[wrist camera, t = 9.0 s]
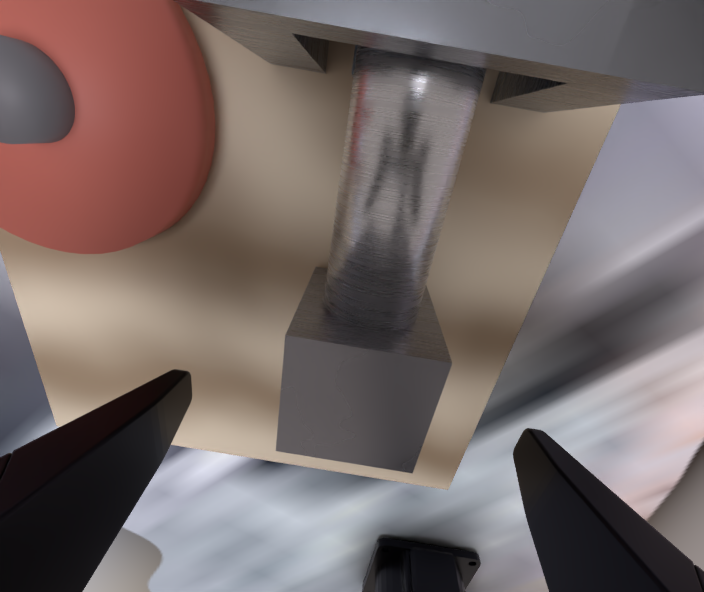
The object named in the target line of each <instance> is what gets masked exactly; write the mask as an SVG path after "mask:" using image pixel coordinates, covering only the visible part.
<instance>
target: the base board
mask: <svg viewBox="0 0 704 592" xmlns="http://www.w3.org/2000/svg"><path fill="white" fill-rule="evenodd" d="M179 6H180V7H181V9H182V11H183V13H184V15H185V17H186V19H187V21H188V23H189V25H190V26H191V28H192V31H193V33H194V35H195V38H196V40H197V43H198V45H199V48H200V50H201V53H202V56H203V59H204V62H205V66H206V69H207V72H208V76H209V80H210V85H211V90H212V96H213V101H214V112H215V146H214V152H213V158H212V164H211V167H210V170H209V174H208V177H207V180H206V183H205V185H204V187H203V189H202V191H201V193H200V195H199V197H198V199H197V200H196V201H195V203H194V204H193V206H192V207H191V209H190V210H189V211H188V212H187V213H186V214H185V215H184V216H183V217H182V218H181V219H180V220H179V221H178V222H177V223H175V224H174V225H173V226H171V227H170V228H169V229H167V230H165V231H163V232H161V233H159V234H157V235H155V236H153V237H151V238H149V239H147V240H145V241H143V242H141V243H139V244H136V245H134V246H132V247H129V248H126V249H123V250H120V251H116V252H110V253H103V254H77V253H68V252H63V251H58V250H54V249H50V248H46V247H43V246H40V245H37V244H34V243H31V242H29V241H26V240H24V239H22V238H20V237H18V236H15V235H13V234H11V233H9V232H7V231H6V230H4V229H2V228H0V251H1V254H2V257H3V261H4V264H5V267H6V270H7V273H8V276H9V279H10V282H11V285H12V288H13V292H14V295H15V298H16V301H17V304H18V307H19V310H20V313H21V316H22V319H23V323H24V326H25V329H26V332H27V335H28V338H29V341H30V344H31V347H32V350H33V354H34V357H35V360H36V363H37V366H38V369H39V372H40V375H41V378H42V382H43V385H44V388H45V391H46V394H47V397H48V400H49V403H50V406H51V409H52V413H53V416H54V419H55V422H56V425H57V426H60V427H61V426H63V425H65V424H67V423H69V422H71V421H73V420H74V419H76V418H78V417H80V416H82V415H84V414H86V413H88V412H90V411H92V410H94V409H96V408H98V407H100V406H102V405H104V404H106V403H108V402H110V401H112V400H114V399H116V398H118V397H120V396H121V395H123V394H125V393H127V392H129V391H131V390H133V389H135V388H137V387H139V386H141V385H143V384H145V383H147V382H149V381H151V380H153V379H155V378H157V377H159V376H161V375H163V374H165V373H166V372H168V371H170V370H173V369H179V370H185V371H189V372H190V374H191V381H192V400H191V403H190V406H189V408H188V410H187V412H186V414H185V416H184V418H183V420H182V422H181V424H180V426H179V429H178V431H177V433H176V435H175V437H174V439H173V441H172V443H171V445H176V446H182V447H188V448H195V449H201V450H207V451H213V452H219V453H225V454H231V455H237V456H244V457H250V458H256V459H262V460H268V461H274V462H280V463H286V464H292V465H299V466H305V467H311V468H317V469H323V470H329V471H335V472H341V473H348V474H354V475H360V476H366V477H372V478H378V479H384V480H390V481H397V482H403V483H409V484H415V485H421V486H427V487H433V488H439V489H446V490H448V489H449V487H450V484H451V482H452V480H453V478H454V475H455V473H456V471H457V469H458V467H459V464H460V462H461V460H462V458H463V455H464V453H465V451H466V449H467V446H468V444H469V442H470V440H471V437H472V435H473V433H474V431H475V429H476V426H477V424H478V422H479V420H480V417H481V415H482V413H483V411H484V408H485V406H486V404H487V402H488V400H489V397H490V395H491V393H492V391H493V388H494V386H495V384H496V382H497V379H498V377H499V375H500V373H501V371H502V368H503V366H504V364H505V362H506V359H507V357H508V355H509V353H510V350H511V348H512V346H513V344H514V342H515V339H516V337H517V335H518V333H519V330H520V328H521V326H522V324H523V321H524V319H525V317H526V315H527V313H528V310H529V308H530V306H531V304H532V301H533V299H534V297H535V295H536V292H537V290H538V288H539V286H540V284H541V281H542V279H543V277H544V275H545V272H546V270H547V268H548V266H549V263H550V261H551V259H552V257H553V255H554V252H555V250H556V248H557V246H558V243H559V241H560V239H561V237H562V234H563V232H564V230H565V228H566V226H567V223H568V221H569V219H570V217H571V214H572V212H573V210H574V208H575V205H576V203H577V201H578V199H579V197H580V194H581V192H582V190H583V188H584V185H585V183H586V181H587V179H588V176H589V174H590V172H591V170H592V168H593V165H594V163H595V161H596V159H597V156H598V154H599V152H600V150H601V147H602V145H603V143H604V141H605V139H606V136H607V134H608V132H609V130H610V127H611V125H612V123H613V121H614V118H615V116H616V114H617V112H618V110H619V107H620V105H621V104H617V105H608V106H599V107H590V108H582V109H573V110H564V111H556V112H547V113H542V112H537V111H531V110H526V109H520V108H514V107H509V106H503V105H498V104H492V103H490V101H491V98H492V94H493V91H494V87H495V84H496V81H497V77H498V74H499V71H498V70H492V69H487V70H486V74H485V77H484V81H483V84H482V88H481V91H480V95H479V98H478V102H477V106H476V109H475V113H474V116H473V120H472V123H471V127H470V130H469V134H468V137H467V141H466V145H465V148H464V152H463V155H462V159H461V162H460V166H459V169H458V173H457V176H456V180H455V184H454V187H453V191H452V194H451V198H450V201H449V205H448V208H447V212H446V215H445V219H444V223H443V226H442V230H441V233H440V237H439V240H438V244H437V247H436V251H435V254H434V258H433V262H432V265H431V269H430V272H429V276H428V279H427V283H426V285H427V288H428V291H429V294H430V297H431V300H432V303H433V306H434V309H435V312H436V315H437V318H438V321H439V324H440V327H441V330H442V333H443V336H444V339H445V342H446V345H447V348H448V351H449V354H450V357H451V360H452V366H451V369H450V372H449V374H448V377H447V380H446V383H445V385H444V388H443V391H442V394H441V396H440V399H439V402H438V405H437V407H436V410H435V413H434V416H433V418H432V421H431V424H430V427H429V430H428V432H427V435H426V438H425V441H424V443H423V446H422V449H421V452H420V454H419V457H418V460H417V463H416V465H415V468H414V471H413V473H406V472H400V471H394V470H388V469H382V468H376V467H370V466H364V465H358V464H352V463H345V462H339V461H333V460H327V459H321V458H315V457H309V456H303V455H297V454H290V453H284V452H278V451H276V440H277V428H278V416H279V404H280V392H281V380H282V368H283V356H284V344H285V334H286V332H287V330H288V328H289V325H290V323H291V321H292V319H293V316H294V314H295V312H296V310H297V307H298V305H299V303H300V301H301V298H302V296H303V294H304V292H305V289H306V287H307V285H308V283H309V280H310V278H311V276H312V274H313V271H314V269H315V267H322V268H328V262H329V255H330V247H331V240H332V233H333V225H334V218H335V210H336V203H337V196H338V188H339V181H340V173H341V166H342V159H343V151H344V144H345V137H346V129H347V122H348V114H349V107H350V100H351V92H352V85H353V77H352V75H351V74H352V66H353V59H354V51H355V45H354V44H348V43H343V42H337V41H332V40H329V47H328V56H327V66H326V74H325V73H319V72H313V71H308V70H302V69H297V68H291V67H286V66H280V65H274V64H270V63H268V62H267V61H265V60H264V59H262V58H261V57H259V56H258V55H256V54H255V53H253V52H252V51H250V50H249V49H247V48H245V47H244V46H242V45H241V44H239V43H238V42H236V41H235V40H233V39H232V38H230V37H229V36H227V35H226V34H224V33H222V32H221V31H219V30H218V29H216V28H215V27H213V26H212V25H210V24H209V23H207V22H206V21H204V20H202V19H201V18H199V17H198V16H196V15H195V14H193V13H192V12H190V11H189V10H187V9H186V8H184V7H183V6H181V5H179Z"/></svg>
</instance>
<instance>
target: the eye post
mask: <svg viewBox="0 0 704 592" xmlns="http://www.w3.org/2000/svg"><path fill="white" fill-rule="evenodd" d="M173 1H175V2H176V3H178V4H179V5H181V6H183V7H184V8H186V9H187V10H189V11H190V12H192V13H193V14H195V15H196V16H198V17H199V18H201V19H202V20H204V21H206V22H207V23H209V24H210V25H212V26H213V27H215V28H216V29H218V30H219V31H221V32H222V33H224V34H226V35H227V36H229V37H230V38H232V39H233V40H235V41H236V42H238V43H239V44H241V45H242V46H244V47H245V48H247V49H249V50H250V51H252V52H253V53H255V54H256V55H258V56H259V57H261V58H262V59H264V60H265V61H267V62H268V63H270V64H274V65H280V66H286V67H291V68H297V69H302V70H308V71H313V72H319V73H325V74H326V66H327V56H328V47H329V40H332V41H337V42H343V43H348V44H354V45H355V51H354V59H353V66H352V74H351V75H352V77H353V78H354V70H355V63H356V55H357V48H358V45H359V46H365V47H370V48H376V49H382V50H387V51H393V52H398V53H404V54H409V55H415V56H420V57H426V58H431V59H437V60H443V61H448V62H454V63H459V64H465V65H470V66H476V67H481V68H487V69H492V70H498V71H499V74H498V77H497V81H496V84H495V87H494V91H493V94H492V98H491V101H490V103H492V104H498V105H503V106H509V107H514V108H520V109H526V110H531V111H537V112H542V113H547V112H556V111H564V110H573V109H582V108H590V107H599V106H608V105H617V104H625V103H634V102H643V101H652V100H660V99H669V98H678V97H686V96H695V95H704V0H173Z"/></svg>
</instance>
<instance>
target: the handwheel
mask: <svg viewBox="0 0 704 592" xmlns="http://www.w3.org/2000/svg"><path fill="white" fill-rule="evenodd" d="M214 146H215V112H214V101H213V96H212V90H211V85H210V80H209V76H208V72H207V69H206V66H205V62H204V59H203V56H202V53H201V50H200V48H199V45H198V43H197V40H196V38H195V35H194V33H193V31H192V28H191V26H190V25H189V23H188V21H187V19H186V17H185V15H184V13H183V11H182V9H181V7H180V6H179V4H178V3H176V2H175V1H173V0H0V228H2V229H4V230H6V231H7V232H9V233H11V234H13V235H15V236H18V237H20V238H22V239H24V240H26V241H29V242H31V243H34V244H37V245H40V246H43V247H46V248H50V249H54V250H58V251H63V252H68V253H77V254H103V253H110V252H116V251H120V250H123V249H126V248H129V247H132V246H134V245H136V244H139V243H141V242H143V241H145V240H147V239H149V238H151V237H153V236H155V235H157V234H159V233H161V232H163V231H165V230H167V229H169V228H170V227H171V226H173V225H174V224H175V223H177V222H178V221H179V220H180V219H181V218H182V217H183V216H184V215H185V214H186V213H187V212H188V211H189V210H190V209H191V207H192V206H193V204H194V203H195V201H196V200H197V199H198V197H199V195H200V193H201V191H202V189H203V187H204V185H205V183H206V180H207V177H208V174H209V170H210V167H211V164H212V158H213V152H214Z"/></svg>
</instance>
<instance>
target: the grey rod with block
mask: <svg viewBox="0 0 704 592" xmlns="http://www.w3.org/2000/svg"><path fill="white" fill-rule="evenodd" d="M486 70H487V68H481V67H476V66H470V65H465V64H459V63H454V62H448V61H443V60H437V59H431V58H426V57H420V56H415V55H409V54H404V53H398V52H393V51H387V50H382V49H376V48H370V47H365V46H359V45H358V48H357V55H356V63H355V70H354V78H353V85H352V92H351V100H350V107H349V114H348V122H347V129H346V137H345V144H344V151H343V159H342V166H341V173H340V181H339V188H338V196H337V203H336V210H335V218H334V225H333V233H332V240H331V247H330V255H329V262H328V268H322V267H315V269H314V271H313V274H312V276H311V278H310V280H309V283H308V285H307V287H306V289H305V292H304V294H303V296H302V298H301V301H300V303H299V305H298V307H297V310H296V312H295V314H294V316H293V319H292V321H291V323H290V325H289V328H288V330H287V332H286V334H285V344H284V356H283V368H282V380H281V392H280V404H279V416H278V428H277V440H276V451H278V452H284V453H290V454H297V455H303V456H309V457H315V458H321V459H327V460H333V461H339V462H345V463H352V464H358V465H364V466H370V467H376V468H382V469H388V470H394V471H400V472H406V473H413V471H414V468H415V465H416V463H417V460H418V457H419V454H420V452H421V449H422V446H423V443H424V441H425V438H426V435H427V432H428V430H429V427H430V424H431V421H432V418H433V416H434V413H435V410H436V407H437V405H438V402H439V399H440V396H441V394H442V391H443V388H444V385H445V383H446V380H447V377H448V374H449V372H450V369H451V366H452V360H451V357H450V354H449V351H448V348H447V345H446V342H445V339H444V336H443V333H442V330H441V327H440V324H439V321H438V318H437V315H436V312H435V309H434V306H433V303H432V300H431V297H430V294H429V291H428V288H427V285H426V283H427V279H428V276H429V272H430V269H431V265H432V262H433V258H434V254H435V251H436V247H437V244H438V240H439V237H440V233H441V230H442V226H443V223H444V219H445V215H446V212H447V208H448V205H449V201H450V198H451V194H452V191H453V187H454V184H455V180H456V176H457V173H458V169H459V166H460V162H461V159H462V155H463V152H464V148H465V145H466V141H467V137H468V134H469V130H470V127H471V123H472V120H473V116H474V113H475V109H476V106H477V102H478V98H479V95H480V91H481V88H482V84H483V81H484V77H485V74H486Z"/></svg>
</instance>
